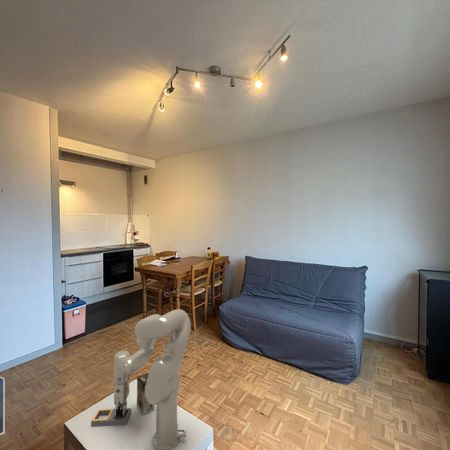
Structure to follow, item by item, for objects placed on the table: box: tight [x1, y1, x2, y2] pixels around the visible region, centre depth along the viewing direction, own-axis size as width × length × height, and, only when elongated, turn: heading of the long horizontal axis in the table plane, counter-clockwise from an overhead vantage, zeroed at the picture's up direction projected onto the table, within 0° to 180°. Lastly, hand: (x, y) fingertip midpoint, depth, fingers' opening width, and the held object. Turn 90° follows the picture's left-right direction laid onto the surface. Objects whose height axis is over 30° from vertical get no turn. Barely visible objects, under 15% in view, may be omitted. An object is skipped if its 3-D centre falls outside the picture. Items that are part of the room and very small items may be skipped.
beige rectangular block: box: [114, 399, 128, 419], centre depth 126 cm, size 4×4×8 cm
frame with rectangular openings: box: [90, 407, 132, 427], centre depth 125 cm, size 17×8×3 cm, turn 94°
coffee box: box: [136, 372, 155, 416], centre depth 134 cm, size 9×6×16 cm
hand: (121, 412), depth 126 cm, fingers closed on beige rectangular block, 4 cm apart
